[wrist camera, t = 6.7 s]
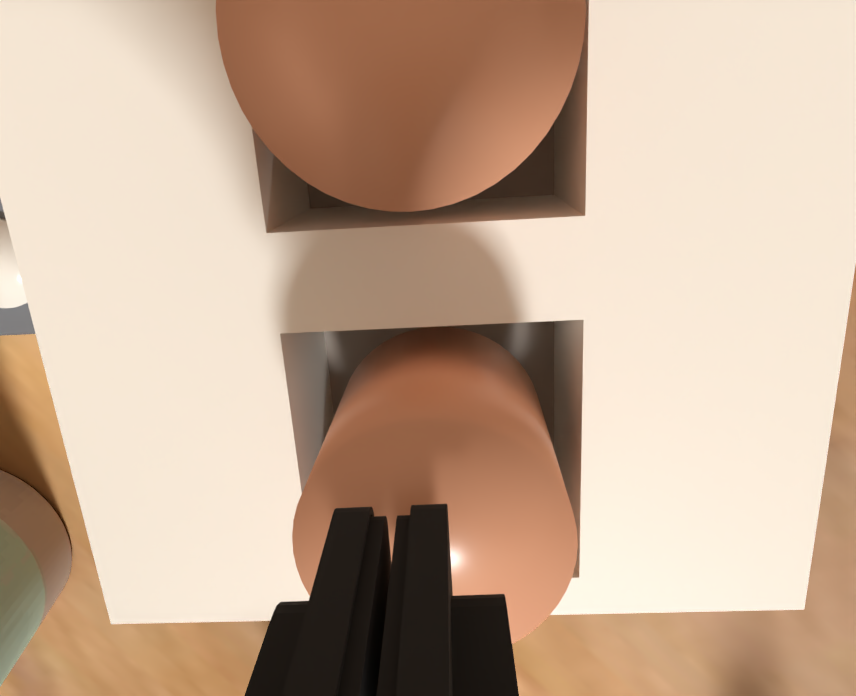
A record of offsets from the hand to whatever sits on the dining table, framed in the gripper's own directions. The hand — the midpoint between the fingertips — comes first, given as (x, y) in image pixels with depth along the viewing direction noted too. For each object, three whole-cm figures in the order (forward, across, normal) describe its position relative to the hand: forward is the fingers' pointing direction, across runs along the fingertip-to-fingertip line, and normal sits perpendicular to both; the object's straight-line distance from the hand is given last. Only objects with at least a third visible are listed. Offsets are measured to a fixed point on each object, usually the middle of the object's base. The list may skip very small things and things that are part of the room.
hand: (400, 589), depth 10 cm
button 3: (+6, -1, 0) cm, 6 cm away
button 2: (+6, -1, -8) cm, 10 cm away
